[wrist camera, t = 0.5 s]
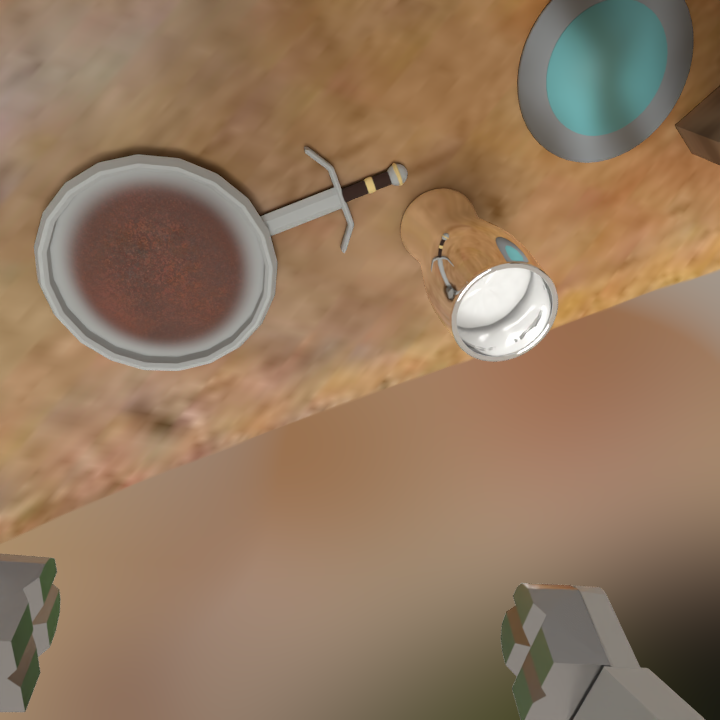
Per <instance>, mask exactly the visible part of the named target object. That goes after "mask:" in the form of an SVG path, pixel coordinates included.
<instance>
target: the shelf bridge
mask: <svg viewBox="0 0 720 720" xmlns="http://www.w3.org/2000/svg"><path fill="white" fill-rule="evenodd" d="M692 54H693V27H692V20H691V17H690V13H689V9H688V7H687V5H686V2H685V0H551V1H550V2H549V3H548V5H547V6H546V7H545V8H544V10H543V11H542V13H541V14H540V15H539V17H538V18H537V20H536V22H535V24H534V26H533V27H532V29H531V31H530V33H529V36H528V38H527V40H526V43H525V46H524V49H523V52H522V55H521V60H520V65H519V70H518V82H517V84H518V99H519V105H520V109H521V113H522V116H523V119H524V121H525V123H526V125H527V128H528V129H529V131H530V132H531V134H532V135H533V137H534V138H535V139H536V140H537V141H538V142H539V144H540V145H542V146H543V147H544V148H545V149H547V150H548V151H549V152H551V153H553V154H555V155H556V156H558V157H561V158H563V159H566V160H570V161H575V162H585V163H589V162H599V161H603V160H608V159H611V158H614V157H616V156H619V155H621V154H623V153H625V152H627V151H629V150H631V149H632V148H634V147H636V146H637V145H639V144H640V143H641V142H643V141H644V140H645V139H646V138H648V137H649V136H650V135H651V134H652V133H653V132H654V131H655V130H656V129H657V128H658V127H659V126H660V125H661V123H662V122H663V121H664V120H665V119H666V117H667V116H668V115H669V113H670V112H671V110H672V109H673V107H674V106H675V104H676V102H677V100H678V98H679V97H680V95H681V92H682V90H683V88H684V85H685V83H686V80H687V77H688V74H689V70H690V66H691V61H692ZM675 126H676V128H677V130H678V131H679V133H680V135H681V136H682V138H683V140H684V141H685V143H686V144H687V146H688V148H689V149H690V151H691V153H692V154H695V155H697V156H699V157H702V158H704V159H706V160H709V161H711V162H713V163H716V164H718V165H720V86H719V87H718V88H717V89H716V90H715V91H714V92H712V93H711V94H710V95H709V96H708V97H707V98H706V99H704V100H703V101H702V102H701V103H700V104H699V105H698V106H696V107H695V108H694V109H693V110H692V111H691V112H690V113H689V114H687V115H686V116H685V117H684V118H683V119H682V120H681V121H679V122H678V123H677V124H676V125H675Z"/></svg>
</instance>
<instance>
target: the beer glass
mask: <svg viewBox="0 0 720 720" xmlns="http://www.w3.org/2000/svg"><path fill="white" fill-rule="evenodd" d="M400 233H401V239H402V242H403V245H404V247H405V249H406V250H407V251H408V253H409V254H410V255H411V256H412V257H413V258H415V259H416V260H417V261H419V262H420V265H421V271H422V277H423V282H424V286H425V289H426V293H427V296H428V299H429V301H430V303H431V305H432V307H433V309H434V311H435V313H436V314H437V316H438V317H439V319H440V320H441V322H442V323H443V325H444V326H445V327H446V329H447V330H448V331H449V333H450V334H451V335H452V336H453V338H454V339H455V340H456V342H457V344H458V345H459V346H460V348H461V349H462V350H463V351H464V352H466V353H467V354H469V355H470V356H472V357H474V358H477V359H480V360H484V361H504V360H509V359H512V358H515V357H518V356H520V355H522V354H524V353H526V352H527V351H529V350H531V349H532V348H533V347H534V346H536V345H537V344H538V343H539V342H540V341H541V340H542V339H543V338H544V337H545V336H546V334H547V333H548V331H549V330H550V328H551V327H552V325H553V322H554V320H555V317H556V314H557V309H558V295H557V290H556V287H555V285H554V283H553V281H552V280H551V278H550V277H549V276H548V275H547V274H546V273H545V272H544V270H543V269H542V267H541V266H540V265H539V263H538V262H537V261H536V259H535V258H534V257H533V255H532V254H531V253H530V252H529V251H528V250H527V249H526V248H525V247H524V245H522V244H521V243H520V242H519V241H518V240H517V239H516V238H515V237H513V236H512V235H511V234H509V233H508V232H506V231H505V230H503V229H501V228H500V227H498V226H496V225H494V224H492V223H490V222H487V221H485V220H483V219H481V218H479V217H478V216H477V214H476V211H475V209H474V207H473V205H472V203H471V202H470V201H469V200H468V198H467V197H465V196H464V195H463V194H461V193H460V192H458V191H455V190H452V189H446V188H439V189H433V190H430V191H427V192H425V193H423V194H421V195H420V196H418V197H417V198H416V199H415V200H414V201H412V203H411V204H410V205H409V206H408V208H407V209H406V211H405V213H404V215H403V218H402V221H401V228H400Z"/></svg>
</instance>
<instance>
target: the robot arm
mask: <svg viewBox="0 0 720 720" xmlns="http://www.w3.org/2000/svg"><path fill="white" fill-rule="evenodd" d="M56 573H57V569H56V563H55V559H54V558H46V557H35V556H22V555H10V554H0V712H25V711H26V708H27V706H28V703H29V701H30V698H31V695H32V693H33V690H34V687H35V685H36V682H37V680H38V677H39V675H40V667H39V661H38V657H39V656H40V655H41V654H42V653H43V652H45V651H46V650H47V649H48V648H49V647H50V645H51V643H52V640H53V637H54V634H55V631H56V627H57V623H58V618H59V613H60V592H59V589H58V588H57V587H56V586H55V585H53V584H52V583H53V581H54V578H55V576H56ZM513 597H514V601H515V604H516V606H514V607H513V608H511V609H510V610H508V611H507V612H506V614H505V617H504V620H503V623H502V630H501V645H502V652H503V656H504V660H505V664H506V666H508V668H509V669H510V670H511V671H512V672H513V673H514V674H515V675H516V676H517V678H516V680H515V683H514V685H513V687H512V690H513V693H514V697H515V701H516V705H517V708H518V712H519V715H520V719H521V720H705V719H704V718H703V717H702V716H701V715H699V714H698V713H697V712H696V711H695V710H694V709H693V708H692V707H690V706H689V705H688V704H687V703H686V702H685V701H684V700H683V699H682V698H681V697H679V696H678V695H677V694H676V693H675V692H674V691H673V690H672V689H670V688H669V687H668V686H667V685H666V684H665V683H664V682H663V681H662V680H660V679H659V678H658V677H657V676H656V675H655V674H654V673H652V672H651V671H650V670H649V669H648V668H640V666H639V664H638V662H637V660H636V657H635V656H634V653H633V651H632V649H631V647H630V645H629V642H628V640H627V638H626V636H625V634H624V632H623V630H622V628H621V625H620V623H619V621H618V619H617V617H616V614H615V612H614V610H613V608H612V606H611V604H610V602H609V599H608V597H607V595H606V593H605V592H604V591H603V590H602V589H601V588H600V587H586V586H571V585H557V584H532V583H531V584H530V583H521V584H520V585H519V586H518V587H517V588H516V590H515V593H514V595H513Z"/></svg>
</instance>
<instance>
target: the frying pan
mask: <svg viewBox="0 0 720 720" xmlns="http://www.w3.org/2000/svg"><path fill="white" fill-rule="evenodd" d="M304 151H305V153H306V154H307V155H309V156H310V157H311V158H313V159H314V160H315V161H317V162H318V163H319V164H321V165H322V166H323V167H325V168H326V169H327V170H328V172H329V175H330V177H331V180H332V183H333V185H334V188H331V189H329V190H326V191H323V192H321V193H318V194H316V195H313V196H311V197H308V198H306V199H303V200H301V201H298V202H296V203H293V204H290V205H288V206H285V207H283V208H280V209H278V210H275V211H273V212H270V213H268V214H265V215H263V216H259V214H258V213H257V211H256V209H255V208H254V206H253V205H252V203H251V202H250V200H249V199H248V198H247V197H246V196H244V195H243V194H242V193H241V192H239V191H238V190H237V189H236V188H234V187H233V186H232V185H231V184H229V183H228V182H227V181H226V180H225V179H223V178H222V177H221V176H220V175H218V174H216V173H214V172H212V171H209V170H207V169H204V168H202V167H199V166H197V165H195V164H192V163H190V162H187V161H185V160H182V159H180V158H171V157H161V156H151V155H140V154H137V155H132V156H127V157H123V158H118V159H113V160H108V161H104V162H99V163H97V164H95V165H93V166H92V167H90V168H89V169H87V170H85V171H84V172H82V173H81V174H79V175H77V176H76V177H74V178H73V179H71V180H69V181H68V182H66V183H65V184H64V185H63V186H62V188H61V189H60V190H59V192H58V193H57V194H56V196H55V197H54V198H53V200H52V201H51V202H50V204H49V205H48V206H47V208H46V209H45V210H44V212H43V214H42V218H41V222H40V226H39V229H38V233H37V237H36V241H35V245H34V252H35V261H36V269H37V277H38V283H39V285H40V287H41V289H42V291H43V293H44V295H45V297H46V299H47V301H48V303H49V305H50V307H51V309H52V311H53V313H54V315H55V316H56V317H57V318H58V319H59V320H60V321H61V322H62V323H63V324H64V325H65V326H66V327H67V329H68V330H69V331H70V332H71V333H72V334H73V335H74V336H75V337H76V338H77V339H78V340H79V341H80V342H81V343H83V344H84V345H86V346H88V347H89V348H91V349H93V350H94V351H96V352H98V353H99V354H101V355H103V356H104V357H106V358H108V359H110V360H112V361H115V362H118V363H122V364H125V365H129V366H132V367H136V368H139V369H143V370H165V371H180V370H184V369H188V368H192V367H197V366H201V365H205V364H209V363H212V362H213V361H215V360H217V359H219V358H221V357H222V356H224V355H226V354H228V353H229V352H231V351H233V350H235V349H237V348H238V347H240V346H241V345H242V344H243V343H244V342H245V341H246V340H247V339H248V338H249V337H250V336H251V335H252V334H253V332H254V331H255V330H256V329H257V328H258V327H259V326H260V325H261V324H262V322H263V320H264V318H265V316H266V313H267V311H268V309H269V307H270V305H271V302H272V300H273V298H274V296H275V287H276V275H277V259H276V255H275V251H274V248H273V244H272V240H271V236H272V235H275V234H278V233H280V232H283V231H285V230H288V229H290V228H293V227H295V226H298V225H300V224H303V223H306V222H308V221H311V220H313V219H316V218H318V217H321V216H323V215H326V214H328V213H331V212H334V211H336V210H339V209H341V208H342V210H343V212H344V215H345V218H346V220H347V223H348V225H347V228H346V231H345V235H344V238H343V241H342V244H341V250H342V252H343V253H345V251H346V249H347V246H348V243H349V240H350V237H351V233H352V230H353V227H354V222H353V219H352V217H351V214H350V211H349V208H348V206H347V203H346V202H347V201H350V200H352V199H355V198H358V197H360V196H363V195H365V194H368V193H369V194H371V193H374V192H375V191H376V190H378V189H380V188H383V187H386V186H388V185H391V184H393V185H399V186H402V185H403V183H404V182H405V181H406V179H407V176H408V173H407V170H406V168H405V167H404V166H403V165H401V164H395V163H393V164H392V165H391V166H390V167H389V169H388V170H387V171H386V172H384V173H381V174H379V175H376V176H374V177H367V178H365V179H364V180H363V181H361V182H358V183H356V184H353V185H351V186H348V187H346V188H343V189H341V186H340V184H339V181H338V178H337V175H336V173H335V170H334V168H333V166H332V165H331V164H330V163H328V162H327V161H326V160H325V159H323V158H322V157H321V156H319V155H318V154H317V153H315V152H314V151H313V150H311V149H310V148H309V147H304Z"/></svg>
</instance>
